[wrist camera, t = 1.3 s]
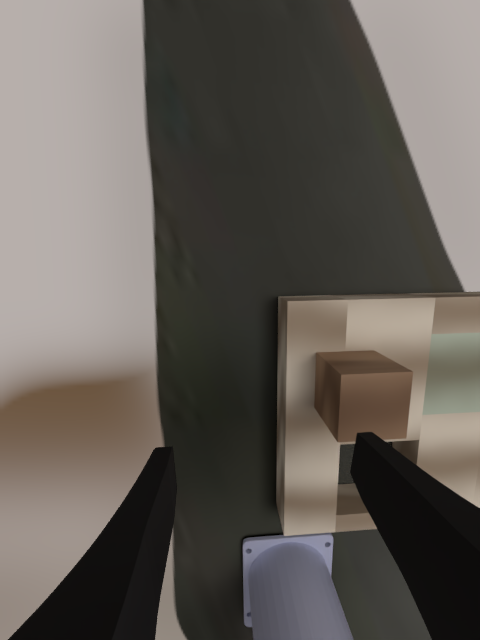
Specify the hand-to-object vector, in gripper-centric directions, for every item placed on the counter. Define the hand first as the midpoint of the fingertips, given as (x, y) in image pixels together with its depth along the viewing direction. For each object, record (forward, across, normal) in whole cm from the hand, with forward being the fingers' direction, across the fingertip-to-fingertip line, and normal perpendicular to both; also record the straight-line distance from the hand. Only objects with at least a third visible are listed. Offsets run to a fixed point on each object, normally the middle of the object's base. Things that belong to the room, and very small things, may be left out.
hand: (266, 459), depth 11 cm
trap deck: (+10, -14, +6) cm, 18 cm away
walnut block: (+8, -7, +2) cm, 11 cm away
